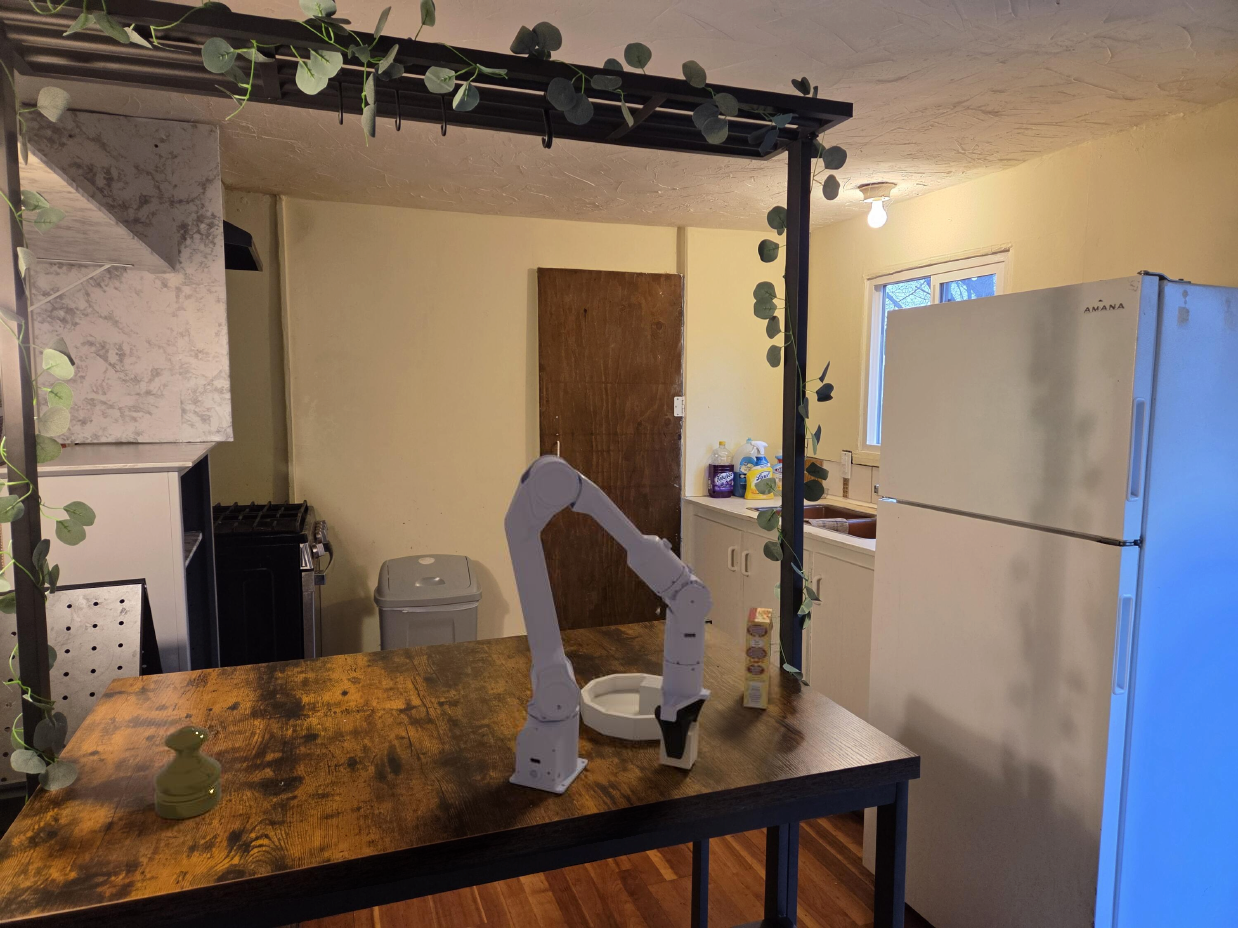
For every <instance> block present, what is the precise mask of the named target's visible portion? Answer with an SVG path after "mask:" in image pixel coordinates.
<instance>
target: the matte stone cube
mask: <svg viewBox="0 0 1238 928" xmlns="http://www.w3.org/2000/svg"><path fill="white" fill-rule="evenodd" d="M662 681H663V678H657V677H651V676H648V677H647V678H646V679H645V680H644V681H643V682H642V683H641V684H640V690H639V715H655V714H654V712H655V708H656V707H657V706H658V705H662V698H661V685H662Z"/></svg>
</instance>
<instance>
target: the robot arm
mask: <svg viewBox="0 0 1238 928" xmlns="http://www.w3.org/2000/svg"><path fill="white" fill-rule="evenodd" d="M566 507H569V508H570V510H571V511H572V512H576V513H577V512H578V513H581V514H586V515H590V516H591V517H592V518H593V519H594V520H595V521H596V522H597V523H598V524H599V525H600V526H601V527H602V528H603V529H605V531H607V533H608V534H610V535H611V536H612V537H613V538H614V539H615V540H616V541H617V542H618V543H619V544H620V545H622V548H624V549H625V550H626V552H627V554H626V555H627V559H626V561H627V566H628V567H630V569H632V570H633V572H635V574H636V575H637V576H638V577H639V578H640V579H641V580H642V581H643V583H644V582H645V584H646V586H647V585H648V587H649V588H650V589H651V590H652V591H653V592H654V593H655V594H656V595H657V596H659V597H661V598H662V602H664V603H665V604H667V606H668V607H666V612H665V626H664V643H663V662H662V663H663V665H662V677H663V681H662V685H661V698H662V705H658V706H657V707H656V708H655V712H654V714H655V718H656V719H657V721H658V723H659V725H660V728H661V731H662V734H663V739H664V744H665V750H666V754H667V757H670V758H675V759H679V760H680V759H681V758H682V756H683V753H684V750H685V745H686V739H687V735H688V731H689V728H690V725H691V723H692V722H697V723H698V719H699V715H700V713H701V710H702V707H703V705H704V704H705V702H706V700H708V699H709V698H710V696H711V690H710V689H705V688H704V687H703V686H704V685H703V681H704V680H703V679H704V661H705V644H706V617H707V616H708V615H709V613H710V612H711V610H712V607H713V605H714V601H713V599H712V598H711V593H710V590H709V588H708V587H707V585H706V584H704V582H702V581H701V580H700V579H699V578H698V577H697V576H696V574H695V573H694V571H695V569H694V568H693V567H692V566H691V565H690V564H689V563H687V564H685V563H684V562H683V561H682V560H681V559H680V558H679V557H678V556H677V555H676V554H675V553H674V552H673V550H671V549H672V547H673V545H672V543H670V541H668V540H667V538H662V539H661V538H660V537H659V536H658V535H656V534H655V535H654V534H653V535H652V534H649V535H646V534H642V533H641V531H640V530H639V529H638V528H637V527H636V526H635V525H634V524H633V523H632V522H631V520H630V519H628V518H627V516H626V515H625V514H624V513H623V511H621V510H620V509H619V508H618V506H617V505H616V504H615V503H614V502H613V501H612V499H610V498H609V496H608V495H607V494H605V492H604V491H603V490H602V489H601V488H600V487H599V486H598V485H596V483H594V482H593V481H591V480H589V478H587V477H586V476H585V475H584V474H582V473H581V472H579V471H578V470H576V469H575V468H573V467H572V466H571V465H569V463H568V462H567V461H566V460H565V459H563V458H562V457H561V456H558V455H555V454H546V455H545V454H544V455H542V456H540V457H537V459H535V460H534V461H533V462H532V463H531V464H530V465H529V467H527V469H525V471H524V472H523V473H522V474H521V475H520V479H519V481H518V484H517V487H516V490H515V492H514V495H513V497H512V499H511V502H510V504H509V507H508V509H507V511H506V513H505V517H504V519H503V520H504V521H503V523H504V524H503V527H504V532H505V537H506V541H507V546H508V550H509V551H508V552H509V556H510V559H511V560H510V561H511V565H512V569H513V575H514V579H515V580H514V581H515V583H516V589H517V593H518V597H519V603H520V608H521V612H522V617H523V621H524V622H523V623H524V625H525V626H524V627H525V631H526V636H527V641H528V644H529V645H528V646H529V650H530V654H531V660H532V663H531V666H530V670H529V680H530V683H531V685H532V686H531V687H532V694H533V695H532V697H531V699H530V701H529V702H527V705H526V706H527V715H526V721H525V723H524V725H523V728H522V729H521V730H520V732H519V733H518V735H517V736H516V740H515V771H514V773H513V774H512V775H511V776H510V777H509V778H508V782H510V783H511V784H516V785H521V786H525V787H529V788H533V789H537V790H543V791H547V792H550V793H551V792H552V793H555V794H563V793H565V791H566V790H567V789H568V787H570V785H571V784H572V783H573V781H575V779H576V778H577V777H578V776H579V775H580V773H582V771H583V770H584V769H585V768H586V766H587V765H588V764H589V761H588V759H585V758H580V757H579V736H580V735H579V732H580V730H579V729H580V728H579V727H580V699H581V690H580V687H579V685H578V683H577V682H576V678H575V673H574V667H573V665H572V662H571V660H570V659H569V658H568V657H567V655H565V650H564V646H563V641H562V636H561V632H560V627H559V622H558V617H557V616H558V615H557V612H556V606H555V604H554V598H553V592H552V588H551V583H550V579H549V574H548V569H547V564H546V563H547V562H546V559H545V553H544V548H543V544H542V540H541V539H542V538H541V532H542V531H543V529H544V528H545V527H546V525H547V524H548V523H549V521H550V520H551V519H552V518H553V516H555V515H556V514H557V513H559V512H560V511H562V510H563V509H565V508H566Z"/></svg>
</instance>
